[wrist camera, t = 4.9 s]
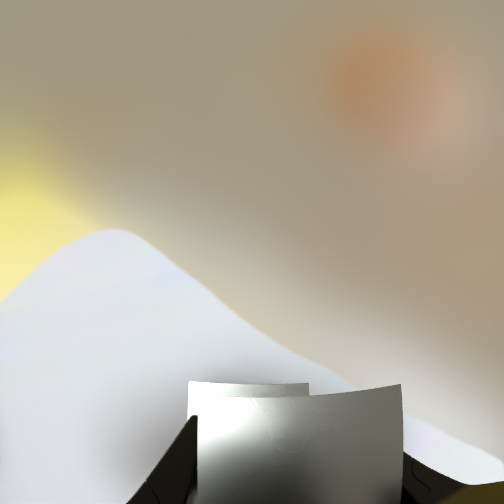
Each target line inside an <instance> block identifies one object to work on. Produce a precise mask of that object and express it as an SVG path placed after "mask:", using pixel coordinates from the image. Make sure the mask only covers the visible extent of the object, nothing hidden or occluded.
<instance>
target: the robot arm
mask: <svg viewBox="0 0 504 504" xmlns="http://www.w3.org/2000/svg"><path fill="white" fill-rule="evenodd" d="M197 456H198V415H192V416H191V417H190V418H189V420H188V421H187V423H186V424H185V425H184V427H183V428H182V430H181V431H180V433H179V434H178V436H177V437H176V438H175V440H174V441H173V443H172V444H171V446H170V447H169V448H168V450H167V451H166V453H165V454H164V455H163V457H162V458H161V460H160V461H159V462H158V464H157V465H156V467H155V468H154V469H153V471H152V472H151V473H150V475H149V476H148V478H147V479H146V481H145V482H144V483H143V484H142V485H141V487H140V488H139V489H138V491H137V492H136V493H135V494H134V496H133V497H132V498H131V499H130V500H129V501H128V502H127V503H126V504H198V462H197ZM400 504H504V481H501V482H495V483H488V484H480V485H468V484H464V483H461V482H458V481H456V480H454V479H452V478H449V477H447V476H445V475H443V474H441V473H439V472H437V471H435V470H433V469H431V468H429V467H427V466H425V465H424V464H422V463H420V462H419V461H417V460H416V459H414V458H412V457H411V456H410V455H408V454H407V453H405V452H404V451H403V474H402V490H401V502H400Z"/></svg>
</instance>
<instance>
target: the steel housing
mask: <svg viewBox="0 0 504 504" xmlns="http://www.w3.org/2000/svg"><path fill="white" fill-rule="evenodd" d="M192 415H198V456H197V462H198V504H400V502H401V490H402V474H403V410H402V393H401V384H398V385H393V386H387V387H381V388H375V389H369V390H362V391H354V392H346V393H337V394H327V395H315V396H309V383H299V384H225V383H207V382H193V381H189V389H188V420H189V418H190V417H191V416H192ZM188 420H187V421H188Z"/></svg>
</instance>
